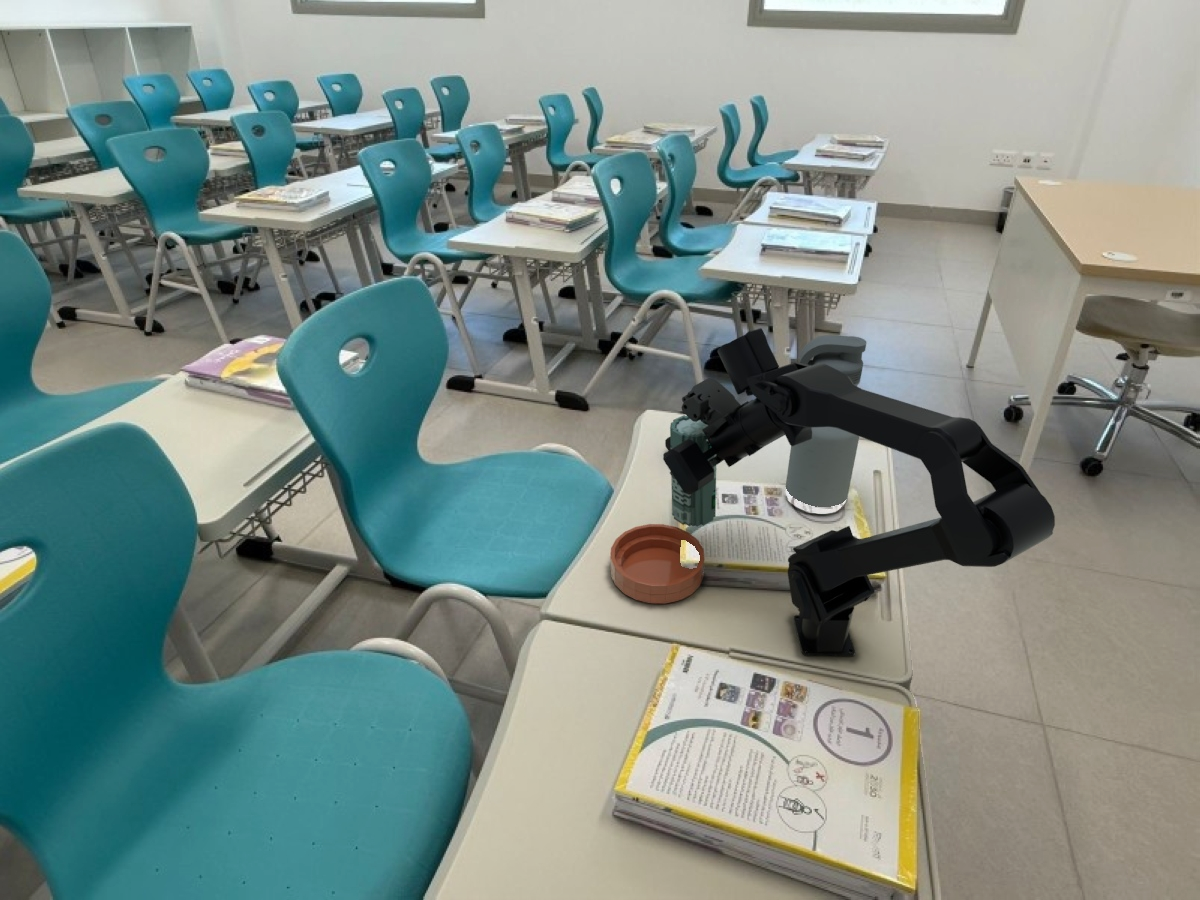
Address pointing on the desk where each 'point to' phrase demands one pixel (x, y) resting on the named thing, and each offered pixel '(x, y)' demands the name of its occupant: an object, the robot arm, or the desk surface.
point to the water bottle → (827, 432)
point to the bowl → (654, 564)
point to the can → (702, 502)
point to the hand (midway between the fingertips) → (687, 465)
